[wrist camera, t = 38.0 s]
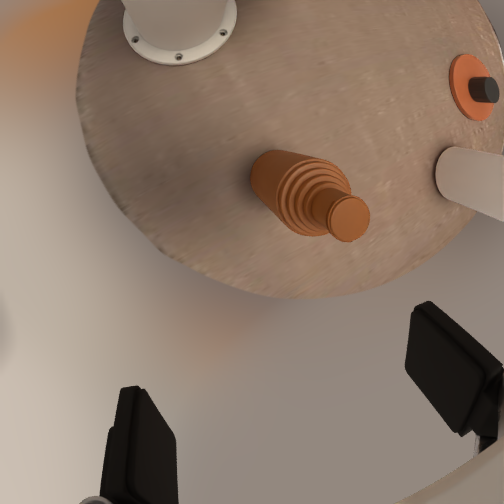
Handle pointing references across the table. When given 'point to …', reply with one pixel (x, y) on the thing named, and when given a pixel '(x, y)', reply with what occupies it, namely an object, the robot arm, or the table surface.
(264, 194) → the sauce bottle
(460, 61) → the orange round coaster
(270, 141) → the table surface
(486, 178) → the potion bottle
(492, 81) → the cap
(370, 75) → the table surface
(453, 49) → the table surface
